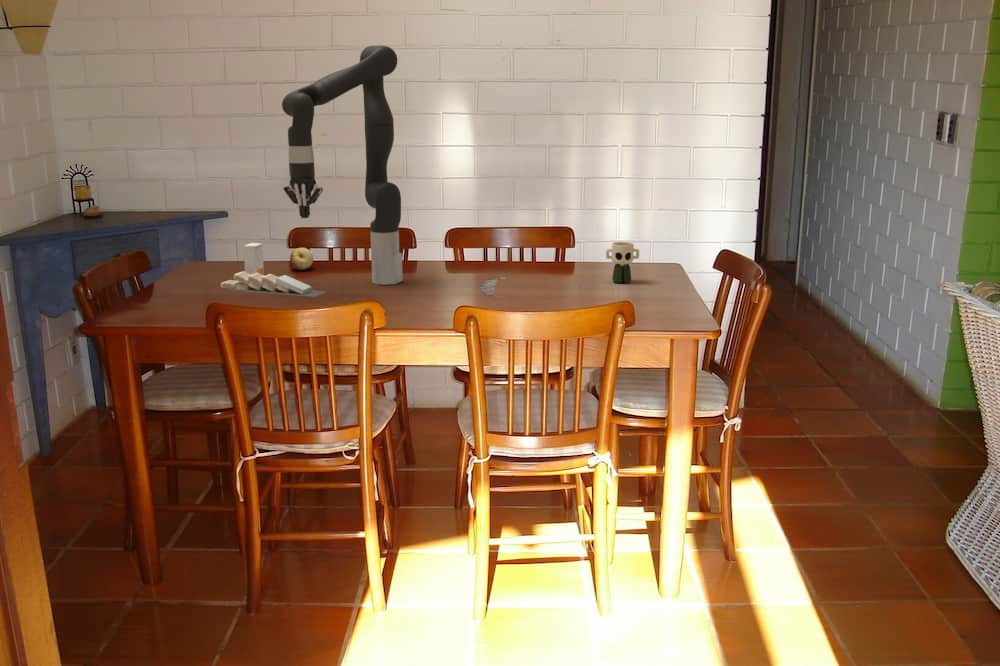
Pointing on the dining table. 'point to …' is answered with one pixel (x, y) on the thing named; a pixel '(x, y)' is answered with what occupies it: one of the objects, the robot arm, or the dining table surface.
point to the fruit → (301, 258)
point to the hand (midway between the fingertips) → (305, 217)
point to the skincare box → (253, 258)
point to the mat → (311, 294)
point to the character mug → (622, 260)
